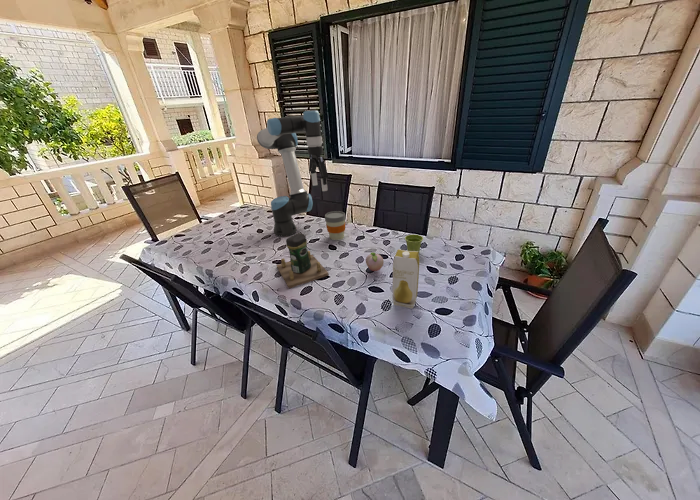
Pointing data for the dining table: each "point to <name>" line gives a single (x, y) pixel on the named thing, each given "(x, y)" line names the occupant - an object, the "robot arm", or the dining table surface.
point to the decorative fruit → (374, 261)
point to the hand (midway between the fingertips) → (319, 188)
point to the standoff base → (301, 278)
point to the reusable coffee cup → (335, 224)
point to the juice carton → (405, 278)
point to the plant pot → (413, 242)
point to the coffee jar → (298, 253)
